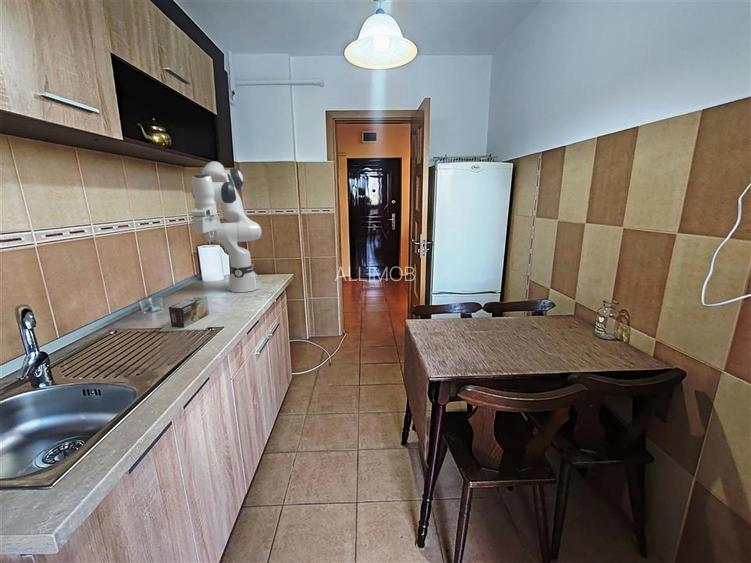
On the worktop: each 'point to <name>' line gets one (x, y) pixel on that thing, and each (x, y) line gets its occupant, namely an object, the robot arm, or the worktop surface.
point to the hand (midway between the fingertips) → (210, 241)
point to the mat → (193, 324)
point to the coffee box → (188, 311)
